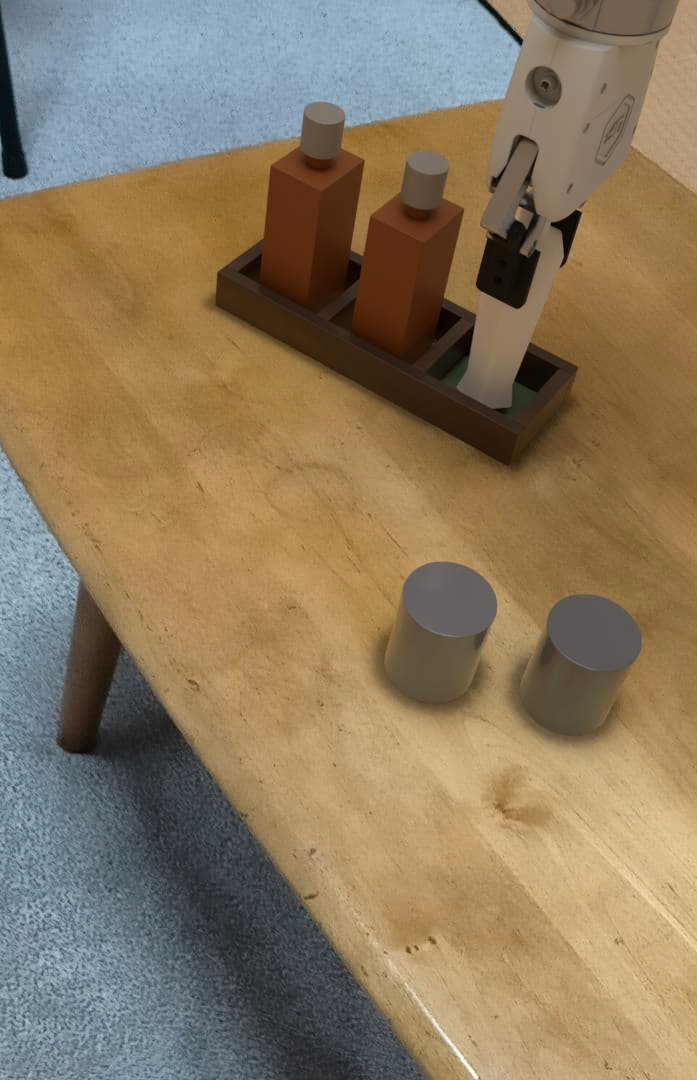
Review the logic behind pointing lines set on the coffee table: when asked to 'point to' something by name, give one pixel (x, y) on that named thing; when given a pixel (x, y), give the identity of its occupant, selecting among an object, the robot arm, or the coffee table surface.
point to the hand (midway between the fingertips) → (521, 274)
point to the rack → (394, 378)
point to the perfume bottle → (509, 327)
